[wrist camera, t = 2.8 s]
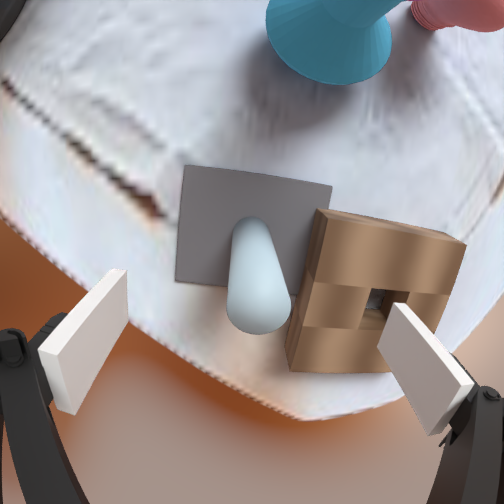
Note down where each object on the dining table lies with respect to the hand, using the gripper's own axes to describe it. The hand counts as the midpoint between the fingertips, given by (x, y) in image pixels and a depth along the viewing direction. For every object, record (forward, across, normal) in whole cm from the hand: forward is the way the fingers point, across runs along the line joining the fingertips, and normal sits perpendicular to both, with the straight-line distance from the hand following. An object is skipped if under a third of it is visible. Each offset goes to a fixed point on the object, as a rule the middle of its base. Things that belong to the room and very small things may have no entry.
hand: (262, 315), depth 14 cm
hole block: (+13, +12, -4) cm, 18 cm away
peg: (+12, 0, 0) cm, 12 cm away
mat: (+13, 0, 0) cm, 13 cm away
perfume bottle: (+13, +3, +17) cm, 22 cm away
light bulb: (+13, +13, +24) cm, 30 cm away
